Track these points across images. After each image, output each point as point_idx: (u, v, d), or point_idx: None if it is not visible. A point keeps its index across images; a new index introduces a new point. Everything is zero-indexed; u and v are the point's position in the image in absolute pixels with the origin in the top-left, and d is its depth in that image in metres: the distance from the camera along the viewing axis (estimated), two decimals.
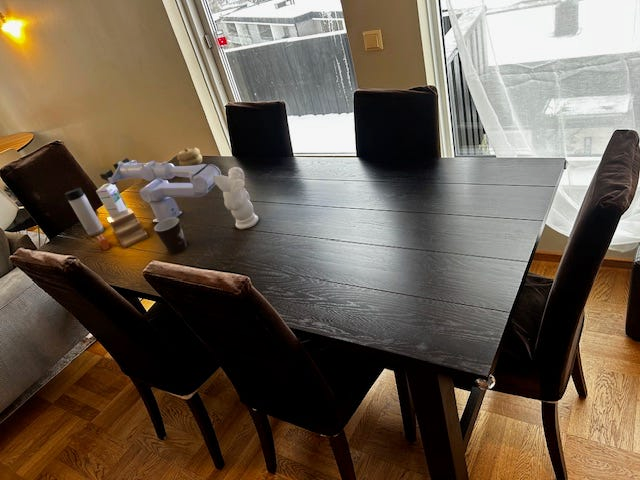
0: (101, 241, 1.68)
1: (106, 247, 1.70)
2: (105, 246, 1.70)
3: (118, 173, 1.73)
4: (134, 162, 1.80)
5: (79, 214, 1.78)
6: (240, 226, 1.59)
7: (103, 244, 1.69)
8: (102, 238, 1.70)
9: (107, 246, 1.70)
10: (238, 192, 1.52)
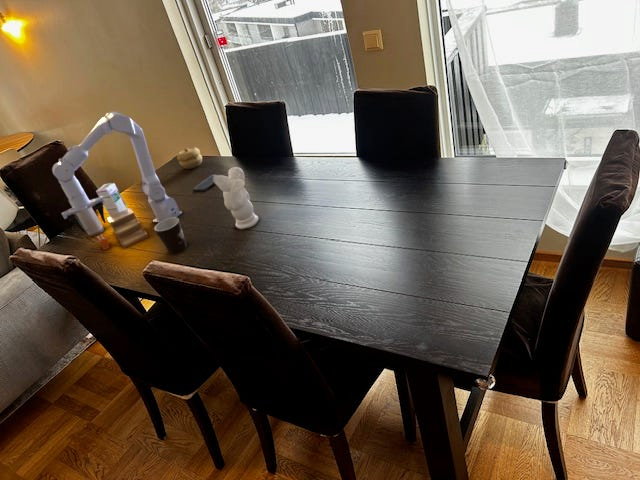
0: (101, 241, 1.68)
1: (106, 247, 1.70)
2: (105, 246, 1.70)
3: (91, 202, 1.63)
4: None
5: (79, 214, 1.78)
6: (240, 226, 1.59)
7: (103, 244, 1.69)
8: (102, 238, 1.70)
9: (107, 246, 1.70)
10: (238, 192, 1.52)
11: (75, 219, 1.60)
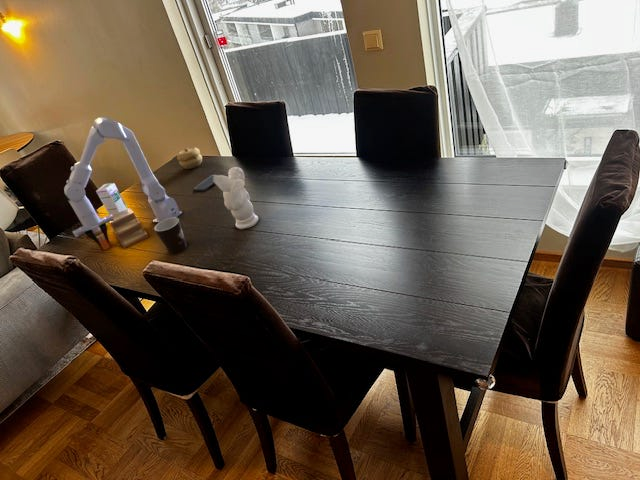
0: (101, 241, 1.68)
1: (106, 247, 1.70)
2: (105, 246, 1.70)
3: (101, 221, 1.67)
4: None
5: None
6: (240, 226, 1.59)
7: (103, 244, 1.69)
8: (102, 238, 1.70)
9: (107, 246, 1.70)
10: (238, 192, 1.52)
11: (92, 234, 1.65)
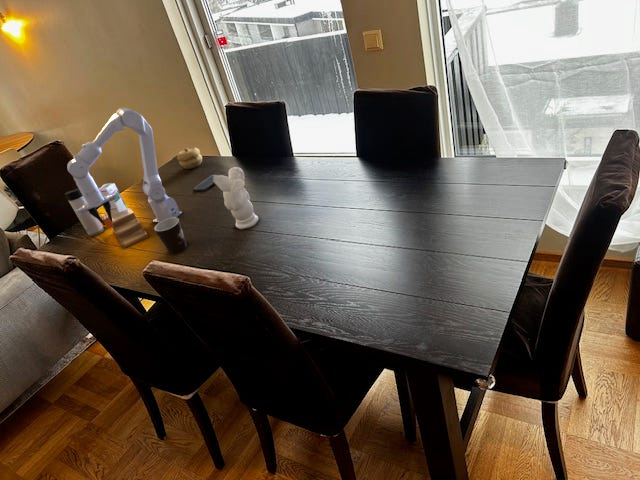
0: (105, 219, 1.67)
1: (110, 226, 1.68)
2: (109, 224, 1.68)
3: (104, 199, 1.66)
4: None
5: None
6: (240, 226, 1.59)
7: (106, 222, 1.67)
8: (105, 217, 1.68)
9: (111, 225, 1.69)
10: (238, 192, 1.52)
11: (96, 212, 1.64)
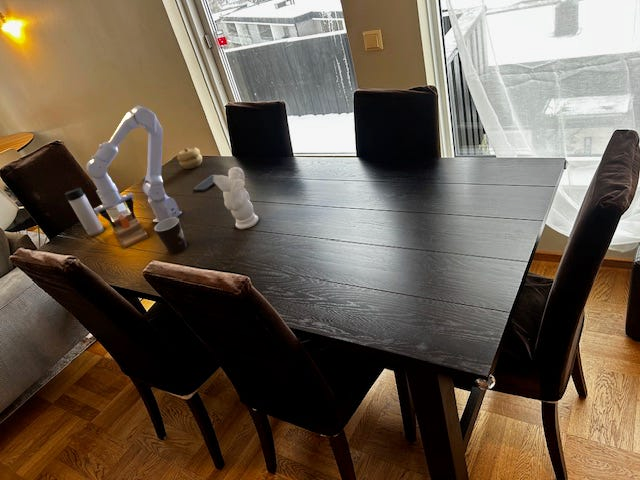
0: (122, 219, 1.71)
1: (127, 226, 1.72)
2: (126, 224, 1.72)
3: (122, 198, 1.69)
4: None
5: (79, 214, 1.78)
6: (240, 226, 1.59)
7: (124, 222, 1.71)
8: (123, 217, 1.72)
9: (128, 225, 1.72)
10: (238, 192, 1.52)
11: (107, 214, 1.67)
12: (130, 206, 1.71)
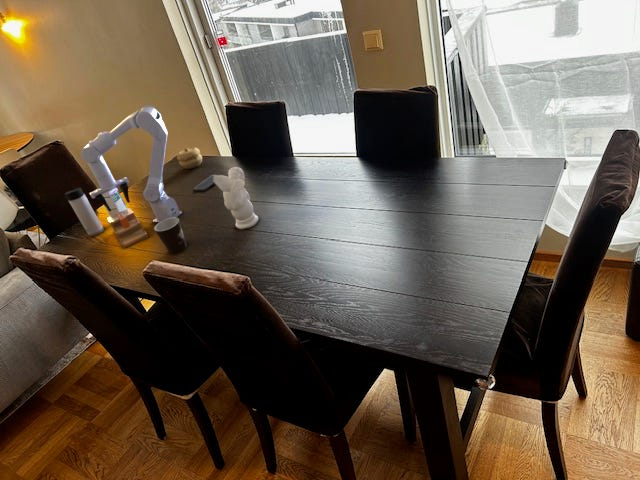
0: (122, 219, 1.71)
1: (127, 226, 1.72)
2: (126, 224, 1.72)
3: (116, 183, 1.73)
4: None
5: (79, 214, 1.78)
6: (240, 226, 1.59)
7: (124, 222, 1.71)
8: (123, 217, 1.72)
9: (128, 225, 1.72)
10: (238, 192, 1.52)
11: (103, 198, 1.70)
12: (125, 190, 1.75)
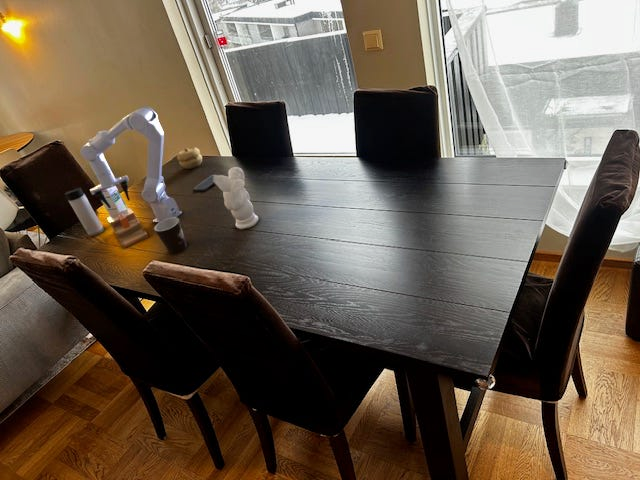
0: (122, 219, 1.71)
1: (127, 226, 1.72)
2: (126, 224, 1.72)
3: (116, 181, 1.75)
4: None
5: (79, 214, 1.78)
6: (240, 226, 1.59)
7: (124, 222, 1.71)
8: (123, 217, 1.72)
9: (128, 225, 1.72)
10: (238, 192, 1.52)
11: (101, 195, 1.73)
12: (124, 188, 1.76)
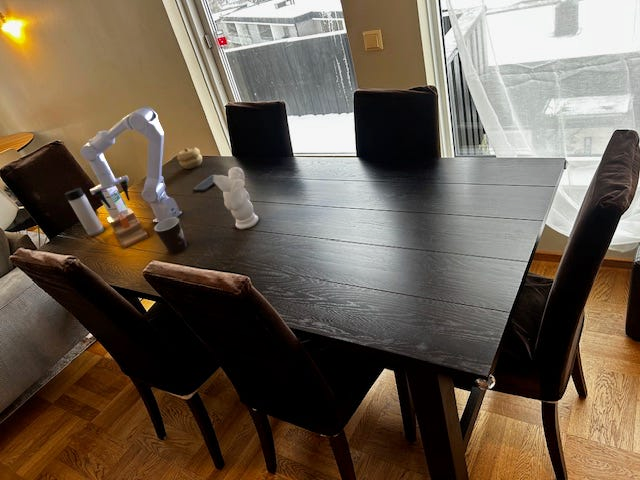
0: (122, 219, 1.71)
1: (127, 226, 1.72)
2: (126, 224, 1.72)
3: (116, 181, 1.75)
4: None
5: (79, 214, 1.78)
6: (240, 226, 1.59)
7: (124, 222, 1.71)
8: (123, 217, 1.72)
9: (128, 225, 1.72)
10: (238, 192, 1.52)
11: (101, 195, 1.73)
12: (124, 188, 1.76)
